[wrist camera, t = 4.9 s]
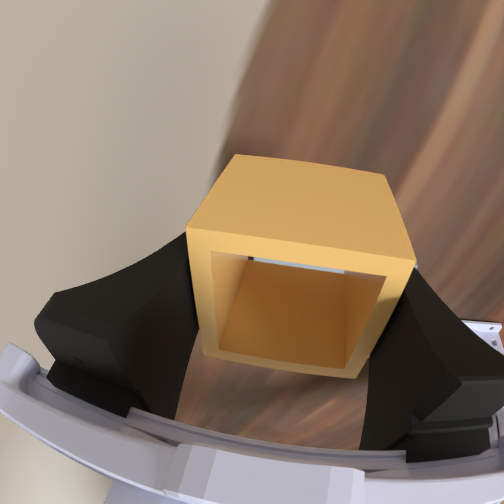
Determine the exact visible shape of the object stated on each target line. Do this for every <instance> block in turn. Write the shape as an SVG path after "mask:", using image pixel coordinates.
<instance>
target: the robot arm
mask: <svg viewBox="0 0 504 504" xmlns="http://www.w3.org/2000/svg"><path fill="white" fill-rule="evenodd" d="M34 326H35V329H36V332H37V334H38V336H39V337H40V339H41V341H42V342H43V343H44V345H45V346H46V347H47V349H48V350H49V352H50V353H51V354H52V356H53V357H54V358H55V359H56V360H55V362H54V364H53V365H52V367H51V369H50V371H48V370H46V369H44V368H42V367H40V365H39V363H38V362H37V361H36V359H35V358H34V357H33V356H31V354H29V353H28V352H26V351H25V350H23V349H21V348H19V347H18V346H16V345H14V344H12V343H8V344H7V346H6V347H5V349H4V350H3V352H2V353H1V355H0V412H1V413H3V414H4V415H5V416H6V417H8V418H9V419H10V420H12V421H13V422H14V423H15V424H17V425H18V426H20V427H21V428H23V429H24V430H25V431H27V432H28V433H30V434H31V435H33V436H34V437H36V438H37V439H39V440H40V441H42V442H44V443H45V444H47V445H48V446H50V447H52V448H53V449H55V450H57V451H59V452H60V453H62V454H63V455H65V456H67V457H69V458H70V459H72V460H74V461H76V462H78V463H80V464H82V465H83V466H85V467H88V468H89V469H91V470H93V471H95V472H97V473H99V474H101V475H103V476H106V477H108V478H110V479H112V483H111V485H110V488H109V491H108V493H107V496H106V499H105V501H104V504H500V503H501V502H502V501H503V500H504V349H503V346H502V342H501V339H500V336H499V333H498V332H499V331H500V330H501V328H502V325H501V323H491V322H478V321H466V320H460V319H459V318H458V317H457V316H456V315H455V314H454V313H453V312H452V311H451V310H450V309H449V307H448V306H447V305H446V304H445V303H444V302H443V301H442V300H441V299H440V298H439V297H438V295H437V294H436V293H435V292H434V291H433V289H432V288H431V287H430V286H429V285H428V283H427V282H426V281H425V280H424V278H423V277H422V276H421V275H420V273H419V272H418V271H417V269H416V268H415V267H414V268H413V270H412V272H411V275H410V277H409V279H408V281H407V283H406V286H405V288H404V290H403V292H402V294H401V296H400V298H399V300H398V302H397V305H396V307H395V309H394V311H393V313H392V315H391V316H390V318H389V320H388V322H387V324H386V326H385V328H384V330H383V332H382V334H381V336H380V337H379V339H378V341H377V343H376V345H375V346H374V348H373V350H372V352H371V353H370V364H369V382H368V394H367V404H366V412H365V419H364V426H363V431H362V437H361V442H360V447H359V450H339V449H325V448H313V447H304V446H295V445H287V444H280V443H273V442H267V441H261V440H255V439H249V438H244V437H239V436H234V435H229V434H225V433H220V432H216V431H211V430H207V429H203V428H199V427H195V426H192V425H188V424H184V423H181V422H177V421H174V419H175V415H176V410H177V406H178V401H179V397H180V393H181V389H182V385H183V381H184V377H185V373H186V370H187V366H188V362H189V359H190V355H191V352H192V349H193V346H194V342H195V339H196V336H197V333H198V330H199V323H198V317H197V311H196V304H195V297H194V290H193V283H192V276H191V269H190V261H189V253H188V245H187V237H186V231H185V232H184V233H183V234H181V235H180V236H178V237H177V238H176V239H174V240H173V241H171V242H170V243H168V244H167V245H165V246H164V247H162V248H161V249H159V250H158V251H156V252H154V253H153V254H151V255H149V256H148V257H146V258H144V259H142V260H140V261H138V262H137V263H135V264H133V265H131V266H129V267H126V268H124V269H122V270H120V271H118V272H116V273H113V274H111V275H109V276H106V277H104V278H101V279H98V280H96V281H93V282H90V283H87V284H84V285H81V286H78V287H74V288H71V289H67V290H63V291H60V292H55V293H54V294H53V296H52V297H51V298H50V300H49V301H48V302H47V304H46V305H45V306H44V308H43V309H42V311H41V312H40V313H39V315H38V316H37V317H36V319H35V322H34Z"/></svg>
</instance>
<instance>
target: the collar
mask: <svg viewBox="0 0 504 504" xmlns="http://www.w3.org/2000/svg"><path fill="white" fill-rule="evenodd" d="M185 228H186V237H187V245H188V253H189V261H190V269H191V276H192V283H193V290H194V297H195V304H196V311H197V317H198V323H199V330H200V336H201V342H202V347H203V353H204V355H205V356H209V357H214V358H219V359H223V360H228V361H233V362H239V363H244V364H249V365H255V366H261V367H266V368H272V369H279V370H285V371H292V372H299V373H306V374H314V375H322V376H331V377H341V378H351V379H356V377H357V376H358V374H359V372H360V371H361V369H362V367H363V366H364V364H365V362H366V360H367V359H368V357H369V355H370V353H371V352H372V350H373V348H374V346H375V345H376V343H377V341H378V339H379V337H380V336H381V334H382V332H383V330H384V328H385V326H386V324H387V322H388V320H389V318H390V316H391V315H392V313H393V311H394V309H395V307H396V305H397V302H398V300H399V298H400V296H401V294H402V292H403V290H404V288H405V286H406V283H407V281H408V279H409V277H410V275H411V272H412V270H413V268H414V266H415V263H416V258H415V255H414V251H413V248H412V245H411V243H410V240H409V237H408V234H407V231H406V228H405V226H404V223H403V220H402V217H401V215H400V212H399V210H398V207H397V204H396V202H395V199H394V197H393V194H392V192H391V190H390V187H389V185H388V182H387V180H386V178H385V175H382V174H377V173H371V172H366V171H360V170H355V169H349V168H343V167H337V166H330V165H324V164H317V163H310V162H302V161H295V160H286V159H278V158H269V157H259V156H249V155H238V154H235V155H234V157H233V158H232V159H231V161H230V162H229V164H228V165H227V167H226V168H225V169H224V171H223V172H222V174H221V175H220V177H219V178H218V179H217V181H216V182H215V184H214V185H213V187H212V188H211V190H210V191H209V192H208V194H207V195H206V197H205V198H204V200H203V201H202V203H201V204H200V206H199V207H198V209H197V210H196V212H195V213H194V215H193V216H192V218H191V219H190V221H189V222H188V224H187V226H186V227H185ZM248 256H252V257H258V258H265V259H272V260H279V261H285V262H292V263H299V264H306V265H313V266H320V267H326V268H333V269H340V270H345V271H344V274H342V273H335V272H328V271H321V270H314V269H307V268H300V267H294V266H287V265H280V264H273V263H267V262H260V261H253V260H248Z"/></svg>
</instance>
